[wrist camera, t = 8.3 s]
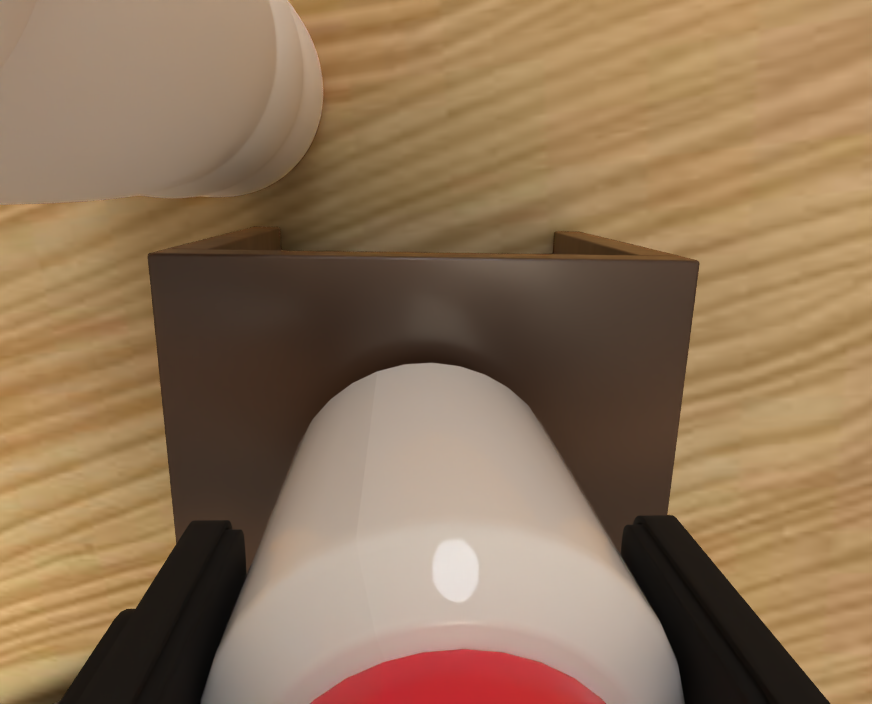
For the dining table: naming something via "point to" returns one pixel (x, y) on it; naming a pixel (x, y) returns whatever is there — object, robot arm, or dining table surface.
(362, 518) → the pill bottle
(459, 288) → the wooden block chair
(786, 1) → the dining table surface
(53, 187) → the water bottle
